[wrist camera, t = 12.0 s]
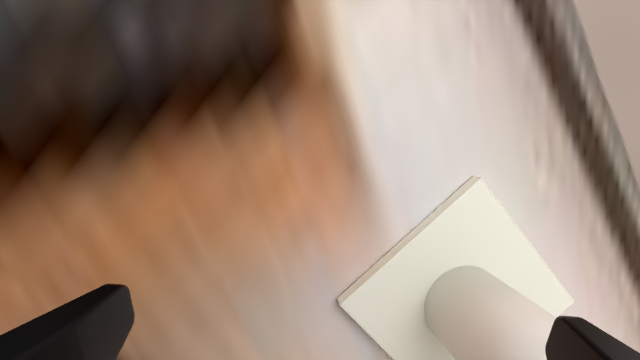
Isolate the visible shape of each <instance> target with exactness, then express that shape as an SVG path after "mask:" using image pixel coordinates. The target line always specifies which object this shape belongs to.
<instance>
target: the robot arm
mask: <svg viewBox="0 0 640 360" xmlns="http://www.w3.org/2000/svg"><path fill="white" fill-rule="evenodd" d="M133 323H134V309H133V305H132V300H131V296H130V291H129V288H128V287H127V286H125V285H121V284H105V285H103V286H101V287H99V288H97V289H95V290H93V291H91V292H89V293H87V294H85V295H83V296H80V297H78V298H76V299H74V300H72V301H70V302H68V303H66V304H64V305H62V306H60V307H58V308H56V309H54V310H52V311H50V312H48V313H45V314H43V315H41V316H39V317H37V318H35V319H33V320H31V321H29V322H27V323H25V324H23V325H21V326H19V327H17V328H15V329H13V330H11V331H8V332H6V333H4V334H2V335H0V360H116V358H117V356H118V354H119V352H120V350H121V348H122V346H123V344H124V342H125V340H126V338H127V336H128V334H129V332H130V330H131V328H132V326H133ZM545 354H546V358H547V360H640V353H638V352H637V351H635V350H634V349H632V348H630V347H629V346H627V345H625V344H624V343H622V342H620V341H619V340H617V339H616V338H614V337H612V336H611V335H609V334H607V333H606V332H604V331H602V330H601V329H599V328H598V327H596V326H594V325H593V324H591V323H589V322H588V321H586V320H584V319H583V318H580V317H572V316H558V317H557V318H556V319H555V320H554V323H553V325H552V328H551V331H550V334H549V337H548V340H547V342H546V346H545Z"/></svg>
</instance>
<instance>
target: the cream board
mask: <svg viewBox="0 0 640 360" xmlns="http://www.w3.org/2000/svg"><path fill="white" fill-rule="evenodd" d="M460 266H477V267H480V268H482V269H484V270H486V271H488V272H489V273H491V274H492V275H494V276H495V277H497V278H498V279H500V280H501V281H503V282H504V283H506V284H507V285H509V286H510V287H512V288H513V289H515V290H516V291H518V292H519V293H521V294H522V295H524V296H525V297H527V298H528V299H530V300H531V301H533V302H534V303H536V304H537V305H539V306H540V307H542V308H543V309H545V310H546V311H548V312H549V313H551V314H552V315H554V316H555V317H558V316H559V315H560V314H561V313H562V312H563V311H564V310H565V309H567V308H568V307H569V306H570V305H571V304H572V303H573V302H574V300H573V299H572V297H571V296H570V295H569V293H568V292H567V291H566V290H565V288H564V287H563V286H562V284H561V283H560V282H559V280H558V279H557V278H556V276H555V275H554V274H553V272H552V271H551V270H550V268H549V267H548V266H547V264H546V263H545V262H544V260H543V259H542V258H541V256H540V255H539V254H538V252H537V251H536V250H535V249H534V247H533V246H532V245H531V243H530V242H529V241H528V239H527V238H526V237H525V235H524V234H523V233H522V231H521V230H520V229H519V227H518V226H517V225H516V223H515V222H514V221H513V219H512V218H511V217H510V215H509V214H508V213H507V211H506V210H505V209H504V208H503V206H502V205H501V204H500V202H499V201H498V200H497V198H496V197H495V196H494V194H493V193H492V192H491V190H490V189H489V188H488V186H487V185H486V184H485V182H484V181H483V180H482V178H479V177H475V176H472V177H471V178H470V179H469V180H468V181H467V182H466V183H465V184H464V185H462V186H461V187H460V188H459V189H458V190H457V191H456V192H455V193H454V194H452V195H451V196H450V197H449V198H448V199H447V200H446V201H445V202H444V203H442V204H441V205H440V206H439V207H438V208H437V209H436V210H435V211H434V212H432V213H431V214H430V215H429V216H428V217H427V218H426V219H425V220H424V221H422V222H421V223H420V224H419V225H418V226H417V227H416V228H415V229H414V230H412V231H411V232H410V233H409V234H408V235H407V236H406V237H405V238H404V239H402V240H401V241H400V242H399V243H398V244H397V245H396V246H395V247H394V248H392V249H391V250H390V251H389V252H388V253H387V254H386V255H385V256H384V257H382V258H381V259H380V260H379V261H378V262H377V263H376V264H375V265H373V266H372V267H371V268H370V269H369V270H368V271H367V272H366V273H365V274H363V275H362V276H361V277H360V278H359V279H358V280H357V281H356V282H355V283H353V284H352V285H351V286H350V287H349V288H348V289H347V290H346V291H345V292H343V293H342V294H341V295H340V296H339V297H338V298H337V300H338V302H339V305H340V306H341V307H342V308H343V309H344V310H345V311H346V312H347V313H348V314H349V315H350V316H351V317H352V318H353V319H354V320H355V321H356V322H357V323H358V324H359V325H360V326H361V327H362V328H363V329H364V330H365V331H366V332H367V333H368V334H369V335H370V336H371V337H372V338H373V339H374V340H375V341H376V342H377V343H378V344H379V345H380V346H381V347H382V348H383V349H384V350H385V351H386V352H387V353H388V354H389V355H390V357H391V358H392V359H393V360H455V359H454V358H453V356H452V355H451V354H450V353H449V351H448V350H447V349H446V348H445V346H444V345H443V344H442V343H441V341H440V340H439V339H438V338H437V336H436V335H435V334H434V333H433V331H432V330H431V329H430V327H429V326H428V324H427V321H426V318H425V301H426V297H427V295H428V292H429V290H430V288H431V287H432V285H433V284H434V283H435V281H436V280H437V279H438V278H439V277H440V276H442V275H443V274H444V273H446V272H447V271H449V270H451V269H453V268H456V267H460Z"/></svg>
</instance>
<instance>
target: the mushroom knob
mask: <svg viewBox="0 0 640 360" xmlns="http://www.w3.org/2000/svg"><path fill="white" fill-rule="evenodd" d="M425 318H426V321H427V324H428V326H429V327H430V329H431V330H432V331H433V333H434V334H435V335H436V336H437V338H438V339H439V340H440V341H441V343H442V344H443V345H444V346H445V348H446V349H447V350H448V351H449V353H450V354H451V355H452V356H453V358H454V359H455V360H547V358H546V354H545V346H546V342H547V340H548V337H549V334H550V331H551V328H552V325H553V323H554V320H555V319H556V318H557V317H555V316H554V315H552V314H551V313H549V312H548V311H546V310H545V309H543V308H542V307H540V306H539V305H537V304H536V303H534V302H533V301H531V300H530V299H528V298H527V297H525V296H524V295H522V294H521V293H519V292H518V291H516V290H515V289H513V288H512V287H510V286H509V285H507V284H506V283H504V282H503V281H501V280H500V279H498V278H497V277H495V276H494V275H492V274H491V273H489V272H488V271H486V270H484V269H482V268H480V267H477V266H460V267H456V268H453V269H451V270H449V271H447V272H446V273H444V274H443V275H442V276H440V277H439V278H438V279H437V280H436V281H435V283H434V284H433V285H432V287H431V288H430V290H429V292H428V295H427V297H426V301H425Z"/></svg>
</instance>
